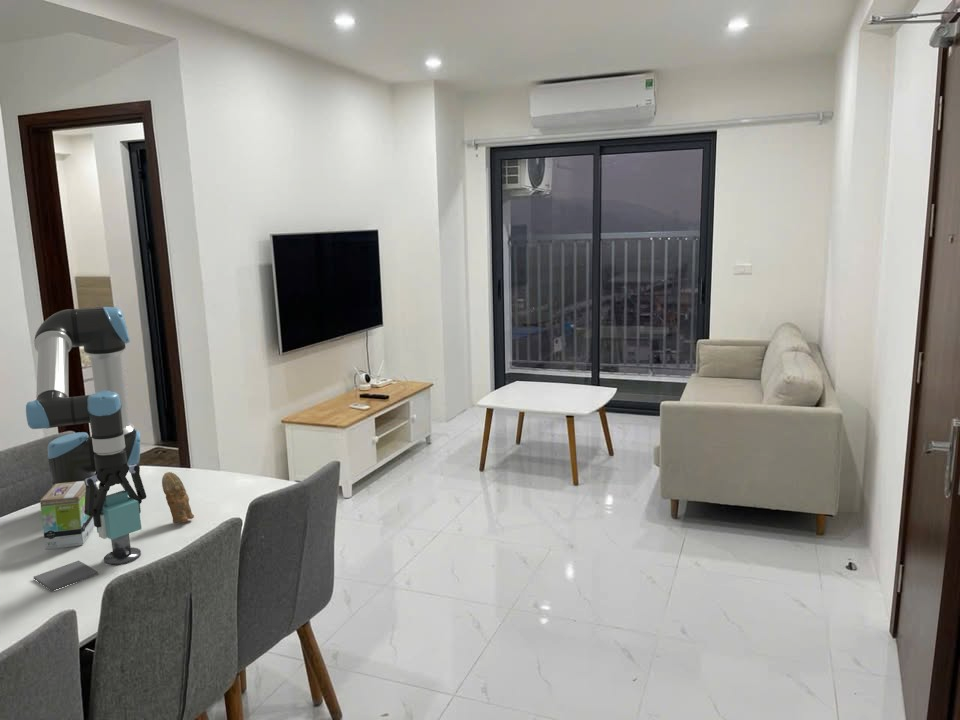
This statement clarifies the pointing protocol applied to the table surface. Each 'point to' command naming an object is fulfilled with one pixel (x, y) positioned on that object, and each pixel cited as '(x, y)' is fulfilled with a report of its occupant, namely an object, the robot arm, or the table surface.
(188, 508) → the figurine
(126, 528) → the cap
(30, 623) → the table surface
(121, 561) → the post
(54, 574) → the pad
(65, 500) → the tea box
